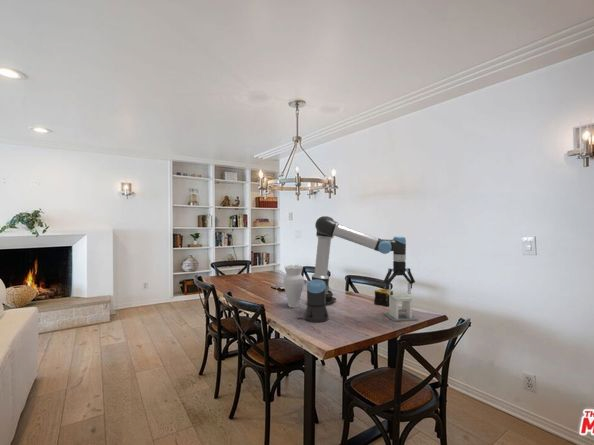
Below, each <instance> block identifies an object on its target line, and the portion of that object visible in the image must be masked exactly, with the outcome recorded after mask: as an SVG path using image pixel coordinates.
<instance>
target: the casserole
mask: <svg viewBox="0 0 594 445" xmlns="http://www.w3.org/2000/svg"><path fill="white" fill-rule="evenodd" d="M336 300H337V297H334V294H333V292H332V291H331V290H330V289H328V292H327V293H326V305H329V304H332V303H334V302H335V301H336Z"/></svg>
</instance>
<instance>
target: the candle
mask: <svg viewBox="0 0 594 445" xmlns="http://www.w3.org/2000/svg"><path fill="white" fill-rule="evenodd" d="M387 293H388V289H386V288H385V289H384V288H379V289H376V290H374V300H373V302H374V305H375V306H376V305H377V306H382V307H389V294H387ZM390 295H394V291H393V290H391V292H390Z"/></svg>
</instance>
